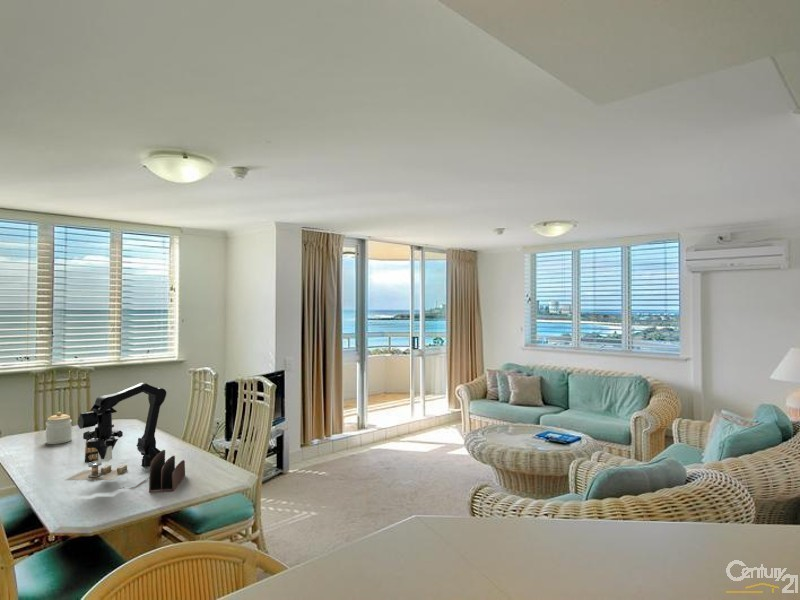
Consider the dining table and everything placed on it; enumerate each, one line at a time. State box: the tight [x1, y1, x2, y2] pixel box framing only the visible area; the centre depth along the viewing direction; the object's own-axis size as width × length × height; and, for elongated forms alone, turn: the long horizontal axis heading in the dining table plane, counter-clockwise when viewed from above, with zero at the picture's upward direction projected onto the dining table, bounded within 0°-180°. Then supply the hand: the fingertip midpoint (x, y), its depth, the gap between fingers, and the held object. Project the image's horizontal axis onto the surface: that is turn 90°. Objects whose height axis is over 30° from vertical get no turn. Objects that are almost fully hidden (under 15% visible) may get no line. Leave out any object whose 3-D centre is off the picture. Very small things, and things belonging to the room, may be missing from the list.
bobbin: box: [87, 461, 102, 478], centre depth 229 cm, size 5×5×6 cm
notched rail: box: [100, 464, 128, 475], centre depth 234 cm, size 10×5×2 cm, turn 90°
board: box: [65, 469, 121, 481], centre depth 230 cm, size 21×14×2 cm, turn 90°
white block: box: [97, 446, 113, 463], centre depth 227 cm, size 4×4×6 cm
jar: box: [45, 411, 73, 445], centre depth 295 cm, size 13×13×18 cm
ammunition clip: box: [84, 438, 104, 464], centre depth 257 cm, size 11×2×12 cm, turn 131°
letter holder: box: [148, 449, 186, 494], centre depth 222 cm, size 10×20×14 cm, turn 9°
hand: (105, 457), depth 227 cm, fingers closed on white block, 4 cm apart
